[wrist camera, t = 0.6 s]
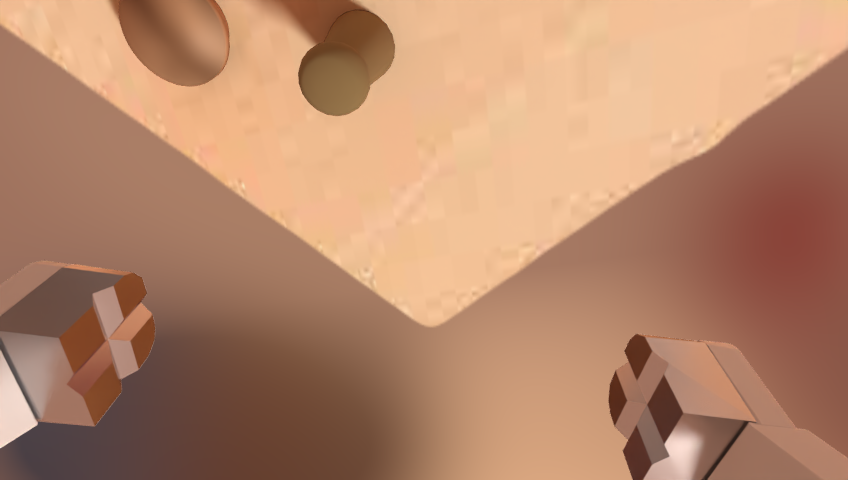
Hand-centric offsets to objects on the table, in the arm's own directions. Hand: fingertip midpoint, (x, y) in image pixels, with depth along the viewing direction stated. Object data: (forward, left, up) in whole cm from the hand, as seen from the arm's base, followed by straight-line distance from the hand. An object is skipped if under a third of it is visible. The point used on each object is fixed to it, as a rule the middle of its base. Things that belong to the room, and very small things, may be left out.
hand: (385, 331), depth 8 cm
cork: (+10, -3, -38) cm, 39 cm away
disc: (+20, -15, -38) cm, 45 cm away
